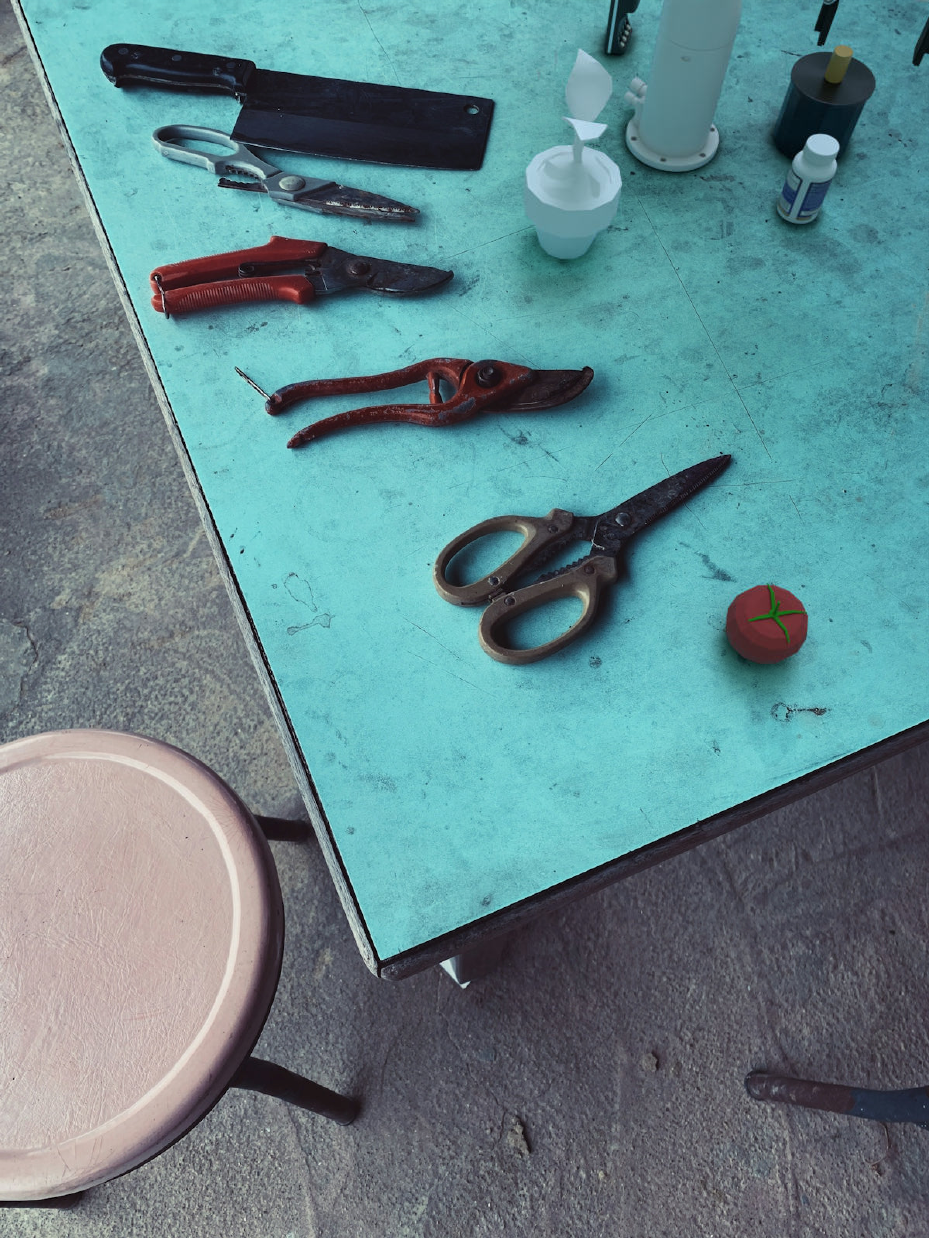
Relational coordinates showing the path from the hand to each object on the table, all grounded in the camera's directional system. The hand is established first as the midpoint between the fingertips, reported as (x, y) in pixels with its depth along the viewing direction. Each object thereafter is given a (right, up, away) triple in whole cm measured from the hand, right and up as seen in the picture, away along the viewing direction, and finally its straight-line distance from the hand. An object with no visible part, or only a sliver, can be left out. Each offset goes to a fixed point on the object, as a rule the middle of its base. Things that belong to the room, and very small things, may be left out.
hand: (868, 48), depth 95 cm
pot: (+6, +8, +33) cm, 35 cm away
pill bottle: (+2, -5, +27) cm, 28 cm away
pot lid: (+6, +11, +25) cm, 29 cm away
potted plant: (-29, -11, +24) cm, 39 cm away
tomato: (-12, -60, 0) cm, 62 cm away
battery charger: (-18, +27, +42) cm, 53 cm away
